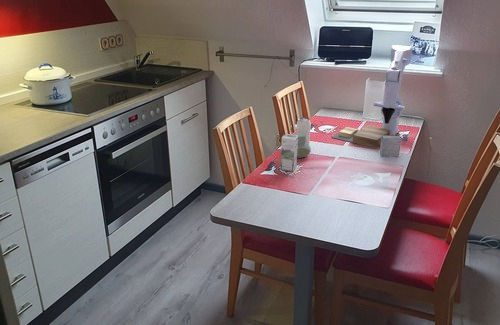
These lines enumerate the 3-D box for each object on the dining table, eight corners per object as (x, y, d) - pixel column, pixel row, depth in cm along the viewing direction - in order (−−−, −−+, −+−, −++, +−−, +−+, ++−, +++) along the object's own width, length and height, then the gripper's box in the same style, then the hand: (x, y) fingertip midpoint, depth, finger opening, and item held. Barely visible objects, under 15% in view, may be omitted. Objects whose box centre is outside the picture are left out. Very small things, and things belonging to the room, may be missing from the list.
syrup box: (296, 166, 193) (298, 134, 188) (293, 172, 188) (295, 139, 182) (283, 165, 195) (285, 133, 189) (280, 170, 190) (281, 137, 184)
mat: (346, 128, 240) (346, 127, 240) (365, 132, 234) (365, 131, 234) (331, 137, 226) (331, 137, 226) (351, 142, 221) (351, 141, 221)
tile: (357, 129, 231) (357, 133, 232) (346, 127, 235) (346, 130, 235) (350, 134, 225) (349, 137, 225) (339, 131, 228) (338, 135, 229)
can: (311, 142, 221) (312, 118, 216) (306, 146, 215) (308, 122, 211) (298, 139, 223) (299, 116, 219) (294, 144, 218) (295, 120, 213)
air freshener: (288, 160, 200) (289, 138, 196) (283, 152, 208) (284, 132, 204) (312, 158, 202) (314, 137, 198) (306, 151, 210) (307, 130, 206)
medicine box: (397, 153, 208) (399, 135, 205) (399, 157, 204) (401, 139, 201) (379, 153, 209) (381, 135, 205) (380, 156, 205) (383, 138, 201)
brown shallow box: (366, 132, 234) (367, 125, 233) (389, 137, 228) (390, 129, 226) (352, 142, 221) (353, 134, 219) (376, 148, 214) (377, 140, 213)
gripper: (372, 94, 214) (369, 122, 220) (403, 99, 207) (399, 128, 212) (378, 91, 220) (374, 118, 225) (408, 96, 212) (404, 124, 217)
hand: (386, 123), depth 219 cm, fingers closed
